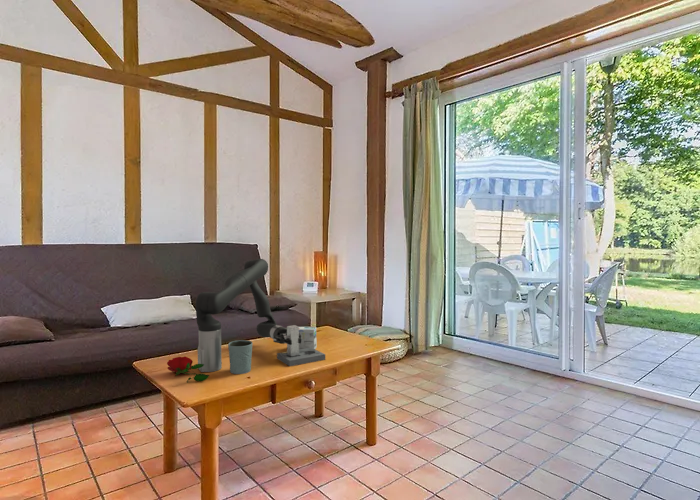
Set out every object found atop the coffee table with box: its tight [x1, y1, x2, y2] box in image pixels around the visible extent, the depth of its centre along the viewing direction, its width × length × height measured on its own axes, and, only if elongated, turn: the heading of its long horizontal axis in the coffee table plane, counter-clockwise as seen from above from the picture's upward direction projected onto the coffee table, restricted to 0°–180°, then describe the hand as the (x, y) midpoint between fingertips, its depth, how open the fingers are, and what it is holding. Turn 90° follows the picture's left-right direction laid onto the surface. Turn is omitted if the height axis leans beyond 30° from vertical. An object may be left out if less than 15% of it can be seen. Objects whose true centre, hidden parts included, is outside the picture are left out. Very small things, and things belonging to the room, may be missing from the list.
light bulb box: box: [298, 326, 318, 350], centre depth 216 cm, size 11×7×11 cm, turn 84°
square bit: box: [286, 324, 300, 358], centre depth 196 cm, size 4×4×15 cm
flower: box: [166, 356, 210, 383], centre depth 171 cm, size 9×10×30 cm
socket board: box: [276, 348, 326, 367], centre depth 198 cm, size 18×14×3 cm
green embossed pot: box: [227, 339, 253, 375], centre depth 181 cm, size 10×10×12 cm
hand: (295, 341), depth 193 cm, fingers closed on square bit, 4 cm apart
